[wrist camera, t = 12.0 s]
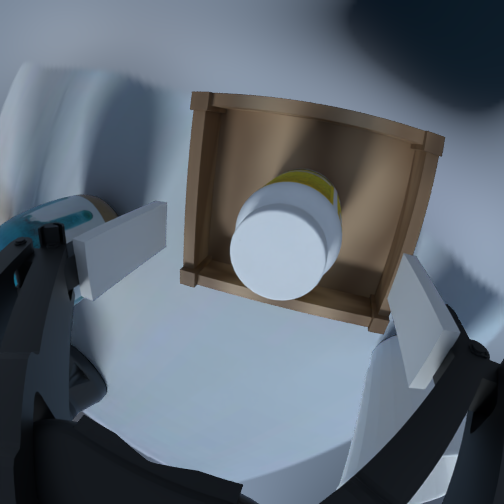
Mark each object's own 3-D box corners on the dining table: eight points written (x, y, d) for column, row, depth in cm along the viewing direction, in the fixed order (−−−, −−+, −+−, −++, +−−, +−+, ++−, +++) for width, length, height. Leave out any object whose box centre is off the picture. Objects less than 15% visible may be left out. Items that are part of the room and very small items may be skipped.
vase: (136, 282, 33) (20, 382, 16) (78, 250, 34) (-31, 319, 17) (145, 201, 28) (-18, 282, 11) (81, 175, 29) (-57, 226, 12)
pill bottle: (252, 191, 24) (191, 231, 14) (315, 153, 21) (298, 165, 12) (290, 252, 25) (256, 328, 15) (353, 220, 22) (364, 285, 13)
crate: (201, 262, 29) (180, 283, 25) (216, 98, 22) (192, 91, 18) (378, 305, 25) (383, 334, 21) (425, 136, 19) (445, 137, 15)
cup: (433, 294, 23) (485, 431, 9) (455, 367, 25) (482, 481, 11) (329, 342, 28) (308, 481, 14) (369, 403, 30) (362, 516, 16)
